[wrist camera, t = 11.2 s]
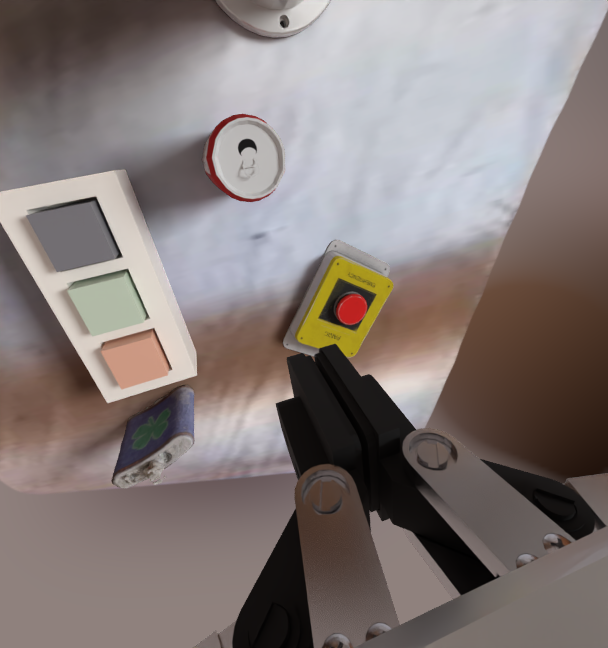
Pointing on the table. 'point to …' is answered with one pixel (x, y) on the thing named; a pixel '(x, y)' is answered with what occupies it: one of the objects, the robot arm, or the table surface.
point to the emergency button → (340, 301)
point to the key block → (133, 256)
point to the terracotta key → (136, 358)
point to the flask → (156, 438)
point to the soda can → (244, 158)
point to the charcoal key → (74, 234)
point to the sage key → (108, 302)
